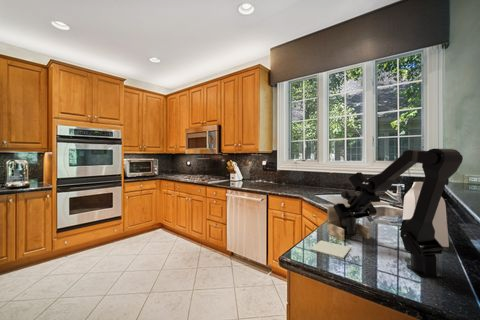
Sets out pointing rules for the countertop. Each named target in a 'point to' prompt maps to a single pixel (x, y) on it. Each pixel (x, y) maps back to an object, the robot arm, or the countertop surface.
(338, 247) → the mat
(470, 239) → the countertop surface
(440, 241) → the milk
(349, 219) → the supplement bottle
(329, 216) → the open box
